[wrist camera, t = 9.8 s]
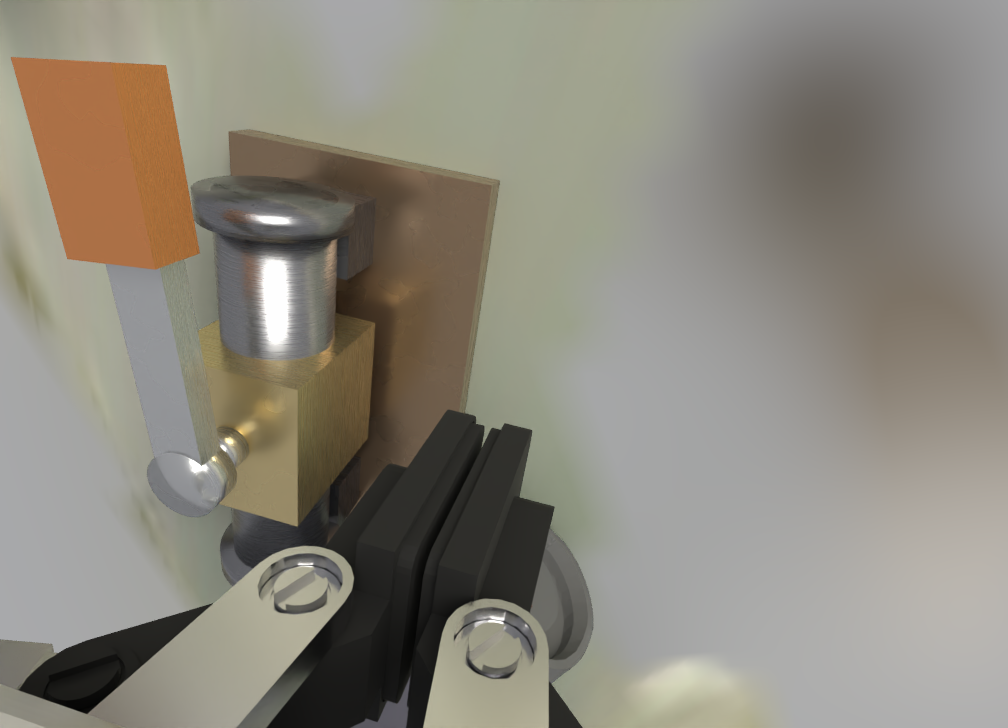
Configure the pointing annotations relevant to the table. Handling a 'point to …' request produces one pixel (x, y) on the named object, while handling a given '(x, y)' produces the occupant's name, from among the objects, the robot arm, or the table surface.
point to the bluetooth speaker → (554, 607)
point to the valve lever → (134, 248)
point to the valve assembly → (333, 326)
